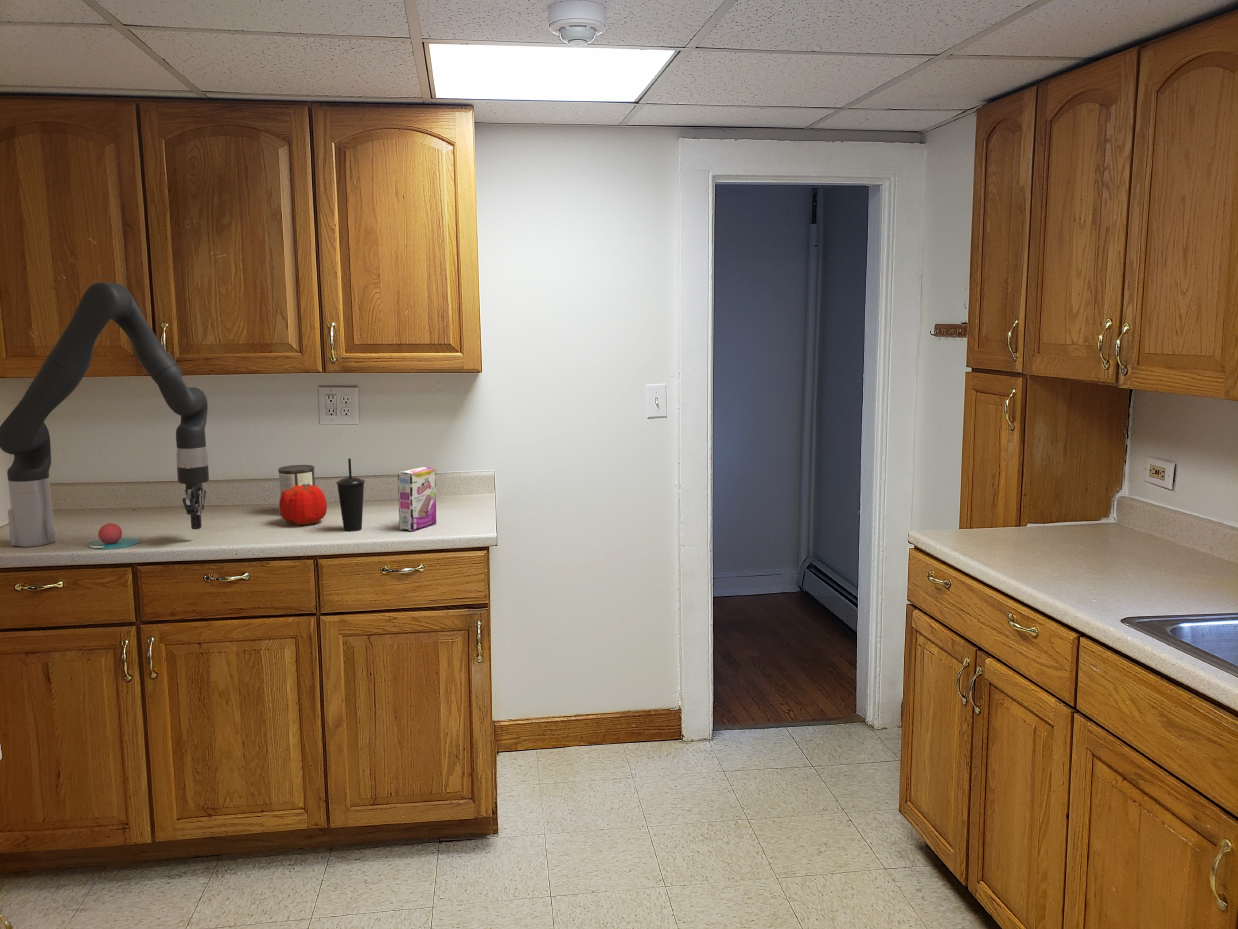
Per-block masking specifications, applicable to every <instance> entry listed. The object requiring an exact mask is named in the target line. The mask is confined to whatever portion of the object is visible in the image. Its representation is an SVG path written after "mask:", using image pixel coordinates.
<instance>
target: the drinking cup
mask: <svg viewBox="0 0 1238 929" xmlns="http://www.w3.org/2000/svg"><path fill="white" fill-rule="evenodd" d="M347 459H348V461H347V463H348V465H347V466H348V476H346V477H343V478H341V479H339V480H337V481H336V482H335V483H336V485H337V490H338V491H337V492H338V499H339V504H340V512H341V513H340V514H341V519H342V527H343V531H344V530H345V532H358V531H361V530H363V510H364V509H363V507H364V488H365V483H366V480H365V479H362V478H360V477H357V476H352V460H351V457H349V458H347Z"/></svg>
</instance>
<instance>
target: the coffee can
mask: <svg viewBox="0 0 1238 929" xmlns="http://www.w3.org/2000/svg"><path fill="white" fill-rule="evenodd" d="M315 477H316V476H315V466H314V465H310V464H296V465H295V464H292V465H285V466H284V465H283V466H280V467H279V468H278V478H279V493H280V496H281V494H282V493H283V491H285V490H287V489H290V488H292V487H295V486H297V485H300V486H306V487H308V486H309V485H313V486H316V481H315V480H316V479H315Z"/></svg>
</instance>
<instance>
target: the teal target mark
mask: <svg viewBox="0 0 1238 929" xmlns="http://www.w3.org/2000/svg"><path fill="white" fill-rule="evenodd" d="M140 542H141V540H140V538H136V537H121V539H120V540H119V541H118V542H116V543H114V544H105V543H103V542H102V541H101V540H100V539H99V540H97V541H93V542H91V543H89V544H88V546H101V547H102V546H104V547H102V549H101V550H113V548H115V549H122V548H126V547H127V546H128V547H131V546H135V545H137V544H139V543H140ZM110 548H112V549H110Z"/></svg>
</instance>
